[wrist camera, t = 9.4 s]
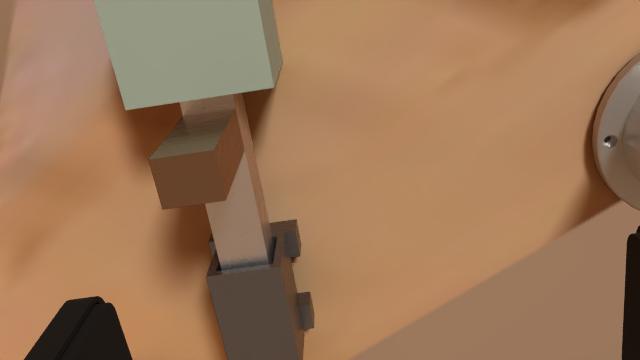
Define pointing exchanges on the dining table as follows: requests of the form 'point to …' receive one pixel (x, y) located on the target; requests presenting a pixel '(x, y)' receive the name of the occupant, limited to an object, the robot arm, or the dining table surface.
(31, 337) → the dining table surface
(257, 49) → the socket block
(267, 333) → the sleeve
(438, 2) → the dining table surface
